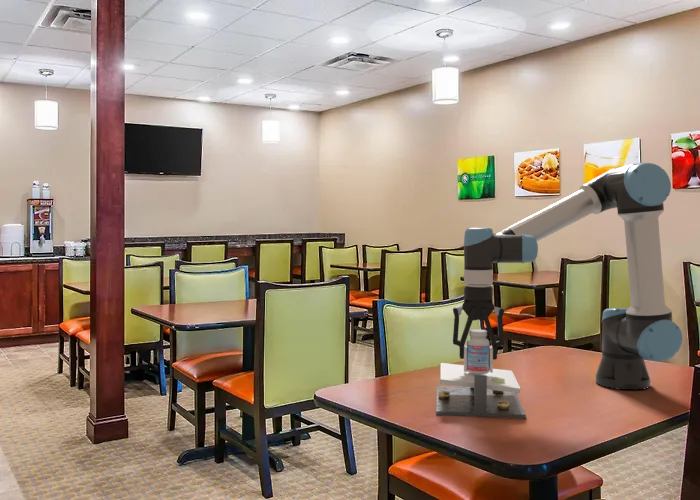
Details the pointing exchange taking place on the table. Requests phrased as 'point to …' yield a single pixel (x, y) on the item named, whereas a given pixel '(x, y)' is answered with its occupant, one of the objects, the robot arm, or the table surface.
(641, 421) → the table surface
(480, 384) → the grey stand base
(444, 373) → the stage
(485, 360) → the pill bottle
